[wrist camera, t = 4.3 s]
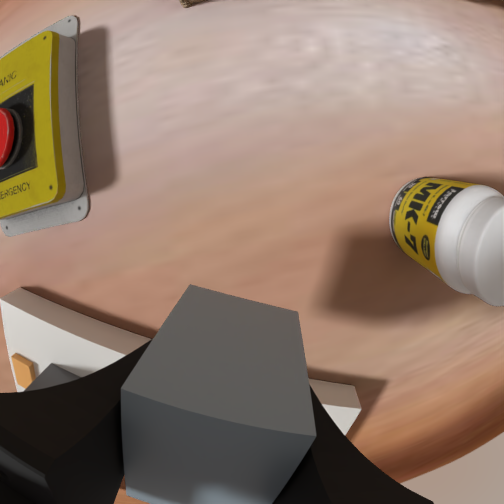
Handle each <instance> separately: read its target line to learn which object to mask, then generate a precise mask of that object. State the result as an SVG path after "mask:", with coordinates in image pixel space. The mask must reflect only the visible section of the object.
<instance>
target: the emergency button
mask: <svg viewBox="0 0 504 504" xmlns="http://www.w3.org/2000/svg"><path fill="white" fill-rule="evenodd" d="M78 26H79V23H78V19H77V18H76V17H74V16H68V17H66V18H64V19H62V20H60V21H58V22H56V23H54V24H53V25H51V26H49V27H47V28H45V29H44V30H42V31H40V32H38V33H37V34H35V35H33V36H32V37H30V38H29V39H27V40H25V41H24V42H22V43H21V44H19V45H18V46H16V47H15V48H13V49H12V50H10V51H9V52H7V53H6V54H4V55H3V56H1V57H0V224H1V227H2V230H3V232H4V234H5V235H6V236H9V237H11V236H15V235H19V234H23V233H27V232H32V231H36V230H40V229H45V228H49V227H53V226H58V225H62V224H67V223H72V222H77V221H81V220H82V219H84V218H85V217H86V215H87V213H88V211H89V199H88V192H87V186H86V179H85V171H84V164H83V155H82V146H81V135H80V123H79V107H78V80H77V51H78Z"/></svg>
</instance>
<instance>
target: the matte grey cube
mask: <svg viewBox="0 0 504 504" xmlns="http://www.w3.org/2000/svg"><path fill="white" fill-rule="evenodd" d="M79 378H82V377H80V376H78V375H75V374H73V373H71V372H69V371H67V370H65V369H63V368H61V367H58V366H56V365H54V364H52V363H51V364H50V365H49V366H48V367H47V368H46V369H45V370H44V371H43V372H42V373H41V374H40V375H39V376H38V377H37V378H36V379H35V380H34V381H33V382H32V383H31V384H30V385H29V386H28V387H27V388H26V389H25V390H24V391H31V390H37V389H43V388H47V387H51V386H55V385H59V384H63V383H67V382H70V381H73V380H76V379H79ZM24 391H23V392H24Z"/></svg>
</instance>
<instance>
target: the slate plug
mask: <svg viewBox="0 0 504 504" xmlns="http://www.w3.org/2000/svg"><path fill="white" fill-rule="evenodd" d="M121 426H122V447H123V462H124V474H125V484H126V493H127V495H128V496H130V497H133V498H136V499H139V500H142V501H145V502H148V503H151V504H272V503H273V502H274V500H275V499H276V498H277V496H278V495H279V493H280V492H281V490H282V489H283V488H284V486H285V485H286V483H287V482H288V480H289V479H290V477H291V476H292V474H293V473H294V471H295V470H296V468H297V467H298V465H299V464H300V462H301V461H302V459H303V457H304V456H305V454H306V453H307V451H308V449H309V448H310V446H311V444H312V443H313V441H314V440H315V438H316V428H315V421H314V414H313V407H312V400H311V393H310V386H309V379H308V372H307V366H306V359H305V353H304V347H303V340H302V334H301V328H300V322H299V316H298V312H297V311H292V310H288V309H284V308H280V307H276V306H272V305H268V304H263V303H259V302H255V301H251V300H247V299H244V298H240V297H236V296H232V295H228V294H224V293H220V292H217V291H213V290H209V289H205V288H202V287H198V286H194V285H191V284H190V285H189V287H188V288H187V289H186V291H185V292H184V294H183V295H182V297H181V298H180V300H179V301H178V303H177V304H176V306H175V307H174V308H173V310H172V311H171V313H170V314H169V316H168V317H167V319H166V320H165V322H164V323H163V325H162V326H161V328H160V329H159V331H158V332H157V334H156V335H155V337H154V338H153V340H152V341H151V343H150V344H149V346H148V347H147V349H146V350H145V352H144V353H143V355H142V357H141V358H140V360H139V361H138V363H137V364H136V366H135V367H134V369H133V370H132V372H131V373H130V375H129V376H128V378H127V380H126V381H125V383H124V384H123V386H122V387H121Z"/></svg>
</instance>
